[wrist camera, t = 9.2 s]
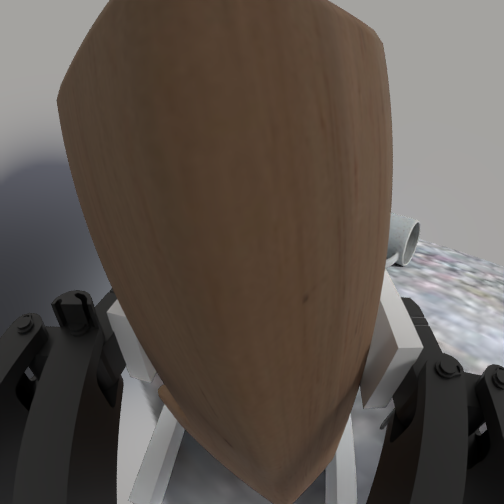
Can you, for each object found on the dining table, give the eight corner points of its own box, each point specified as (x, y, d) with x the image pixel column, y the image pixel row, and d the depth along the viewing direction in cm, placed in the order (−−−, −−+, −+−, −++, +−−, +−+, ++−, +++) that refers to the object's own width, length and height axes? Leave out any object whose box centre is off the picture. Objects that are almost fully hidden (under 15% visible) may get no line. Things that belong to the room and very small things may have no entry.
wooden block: (179, 424, 15) (41, 124, 6) (227, 385, 18) (149, 93, 9) (285, 511, 9) (150, -73, 1) (336, 455, 12) (385, 29, 3)
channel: (325, 302, 31) (329, 284, 30) (342, 531, 9) (357, 527, 8) (219, 291, 32) (218, 273, 31) (140, 507, 10) (128, 500, 9)
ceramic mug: (376, 241, 48) (384, 202, 44) (414, 258, 42) (425, 217, 39) (347, 258, 42) (356, 212, 38) (392, 280, 36) (405, 231, 33)
